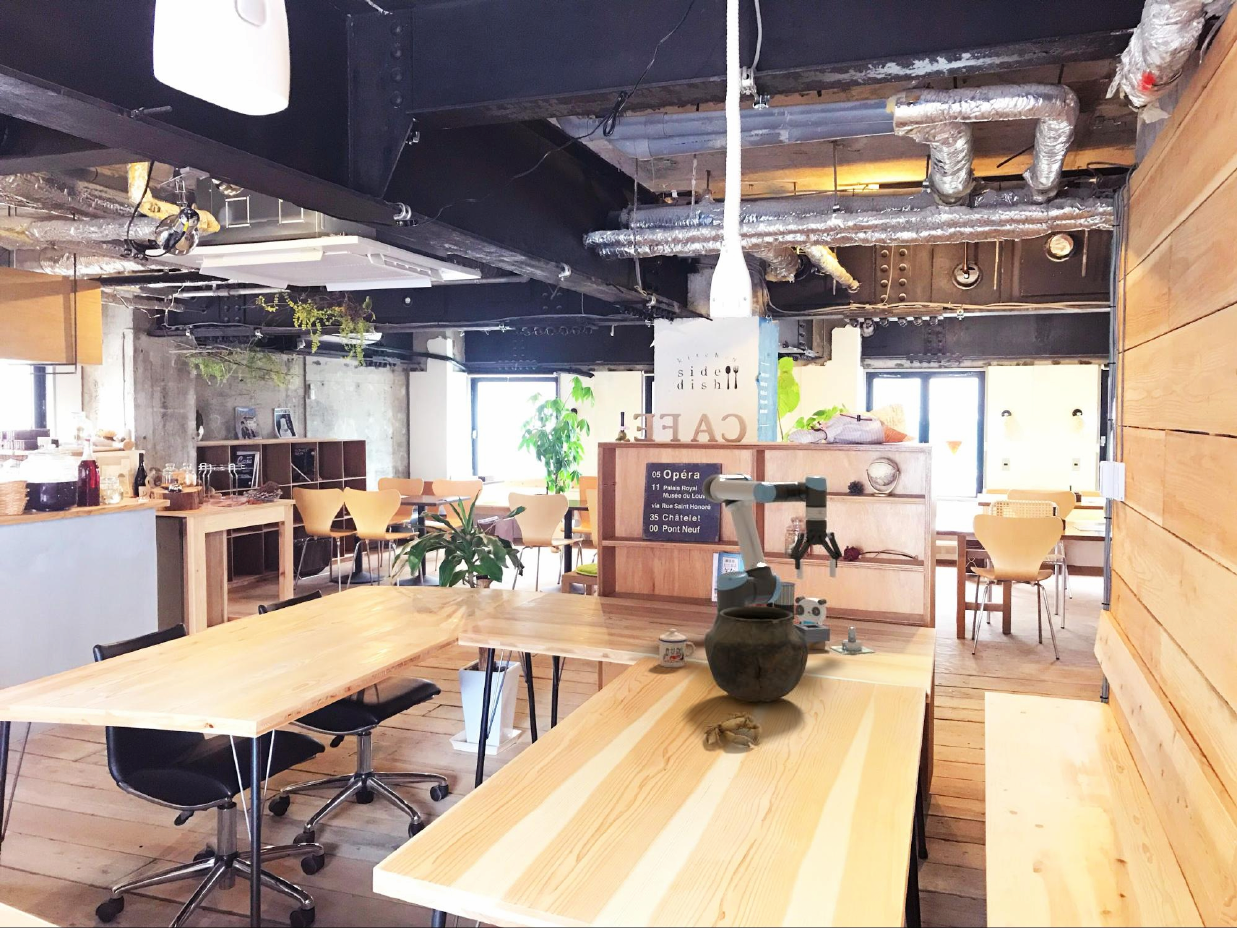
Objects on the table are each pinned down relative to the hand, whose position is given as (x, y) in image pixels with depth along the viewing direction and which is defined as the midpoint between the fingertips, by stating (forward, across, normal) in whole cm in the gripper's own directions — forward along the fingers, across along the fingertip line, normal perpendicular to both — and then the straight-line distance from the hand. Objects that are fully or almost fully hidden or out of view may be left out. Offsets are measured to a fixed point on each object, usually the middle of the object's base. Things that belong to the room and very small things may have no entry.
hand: (816, 577), depth 325 cm
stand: (+25, -2, 0) cm, 25 cm away
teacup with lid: (+25, -59, -10) cm, 65 cm away
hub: (+25, +10, -8) cm, 28 cm away
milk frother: (+24, +12, +53) cm, 60 cm away
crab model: (+27, -75, -86) cm, 117 cm away
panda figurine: (+25, +7, +16) cm, 30 cm away
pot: (+26, -53, -56) cm, 81 cm away
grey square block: (+22, -2, 0) cm, 22 cm away
